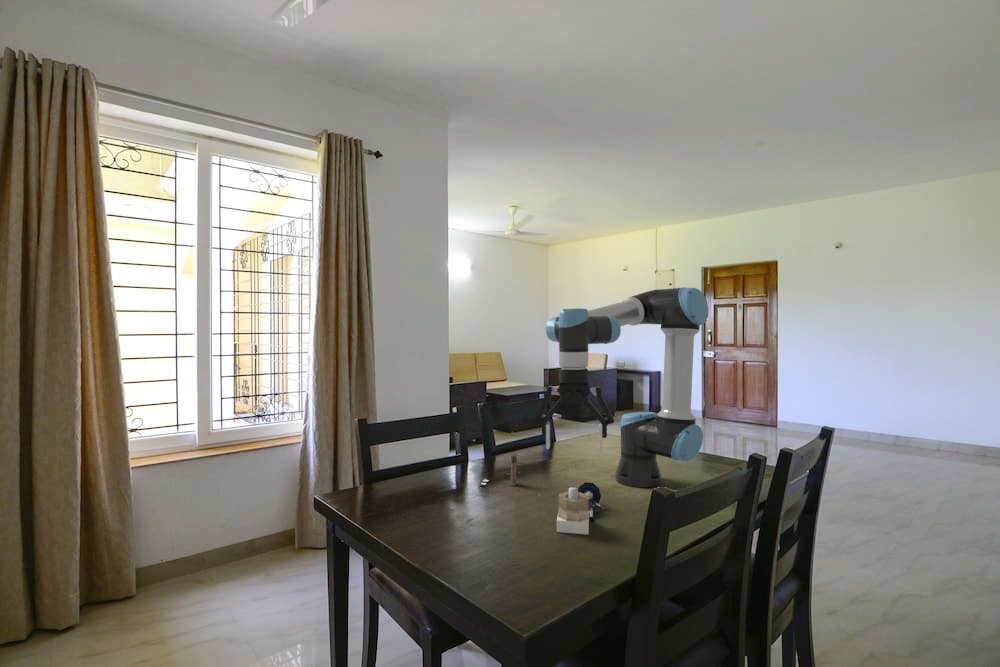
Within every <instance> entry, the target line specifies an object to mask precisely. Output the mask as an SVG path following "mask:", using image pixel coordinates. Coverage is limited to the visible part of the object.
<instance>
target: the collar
mask: <svg viewBox="0 0 1000 667" xmlns="http://www.w3.org/2000/svg"><path fill="white" fill-rule="evenodd" d="M557 500H558V501H557V505H558V506H557V508H558V509H557V516H558V517H560V518H562V519H564V520H566V521H576V522H580V521H583V520H586V519H588V495H586V494H584V493H581V492H578V499H577V500H574V499H569V490H568V491H564V492H563V491H562V492H560V493H559V494H558V499H557Z"/></svg>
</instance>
